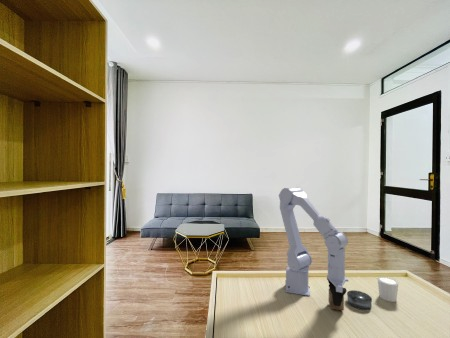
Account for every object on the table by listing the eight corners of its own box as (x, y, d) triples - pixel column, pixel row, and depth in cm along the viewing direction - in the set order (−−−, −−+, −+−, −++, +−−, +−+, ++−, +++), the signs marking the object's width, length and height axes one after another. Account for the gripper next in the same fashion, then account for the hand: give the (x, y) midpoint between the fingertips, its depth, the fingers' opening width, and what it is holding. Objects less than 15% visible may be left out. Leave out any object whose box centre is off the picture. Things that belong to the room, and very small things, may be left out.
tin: (349, 308, 85) (349, 300, 85) (345, 296, 92) (345, 288, 92) (375, 312, 82) (374, 304, 82) (368, 299, 90) (368, 292, 90)
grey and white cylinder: (402, 303, 87) (402, 285, 87) (382, 301, 88) (382, 283, 88) (392, 294, 94) (392, 277, 94) (374, 292, 95) (374, 275, 95)
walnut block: (330, 308, 83) (330, 294, 83) (328, 301, 87) (328, 288, 87) (343, 310, 81) (343, 297, 81) (341, 303, 86) (341, 290, 86)
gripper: (352, 275, 76) (352, 315, 76) (344, 259, 90) (344, 293, 90) (329, 272, 78) (329, 311, 78) (325, 257, 92) (324, 289, 92)
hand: (335, 301), depth 84 cm, fingers closed on walnut block, 4 cm apart
